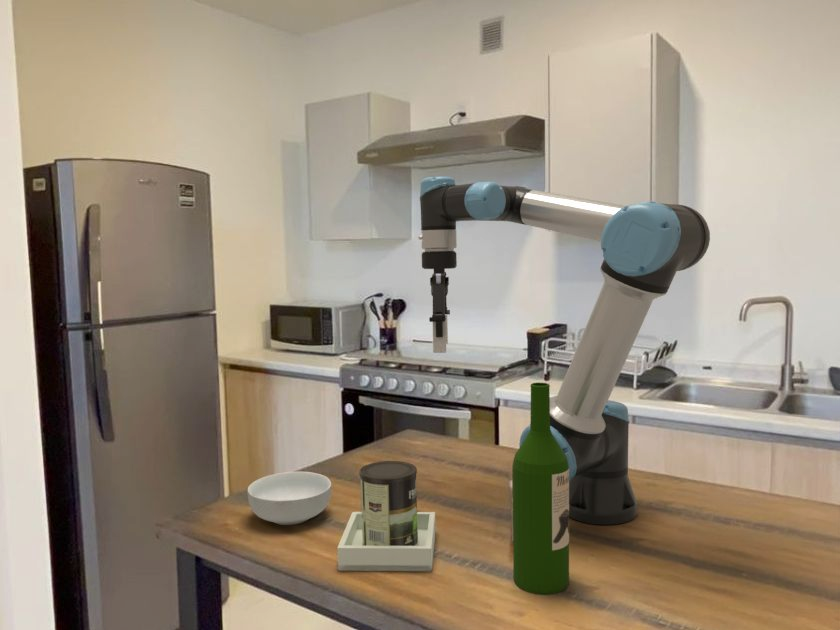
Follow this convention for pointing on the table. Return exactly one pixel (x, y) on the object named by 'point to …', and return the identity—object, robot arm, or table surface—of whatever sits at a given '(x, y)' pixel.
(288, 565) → the table surface
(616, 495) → the robot arm
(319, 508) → the cereal bowl
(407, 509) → the coffee can
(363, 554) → the tray
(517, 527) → the wine bottle
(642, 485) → the table surface
